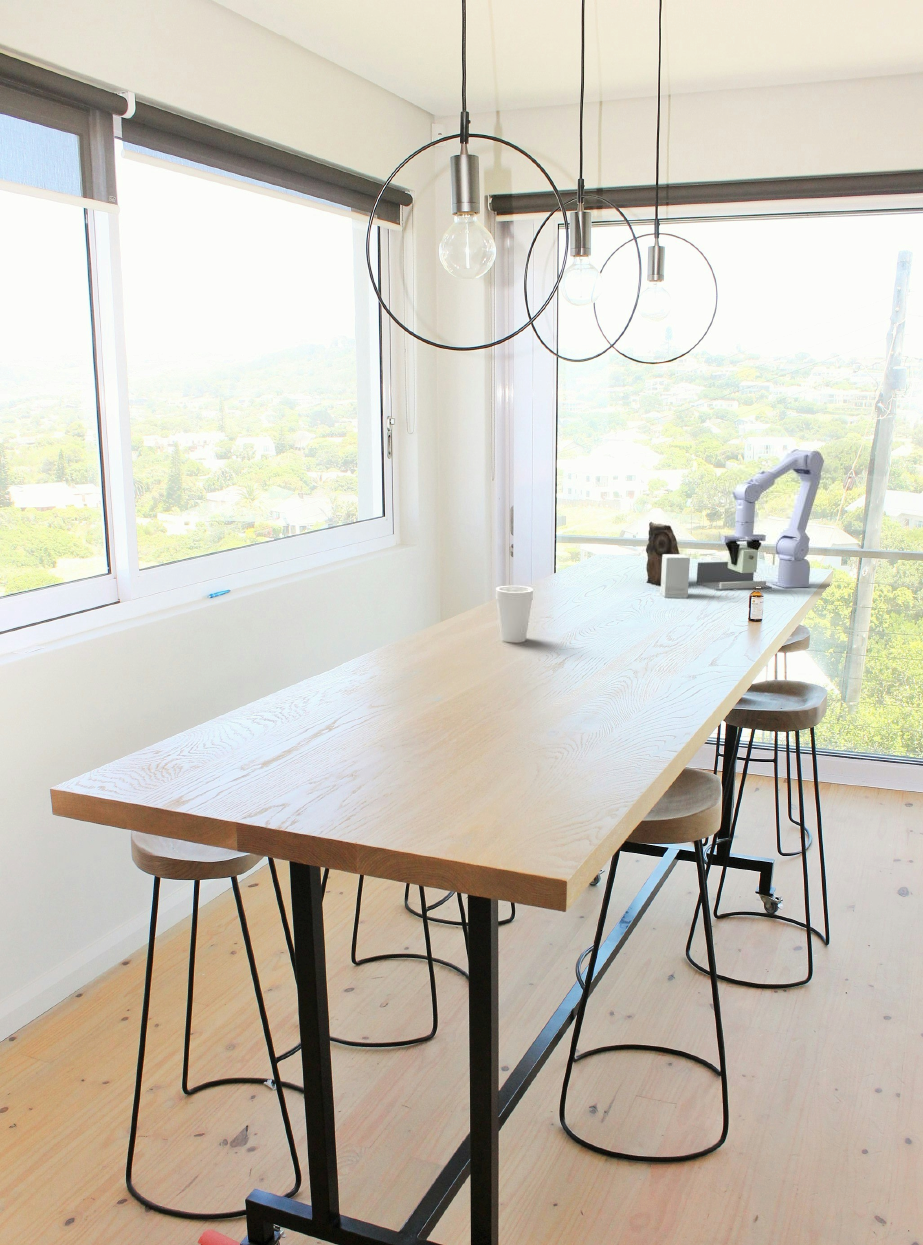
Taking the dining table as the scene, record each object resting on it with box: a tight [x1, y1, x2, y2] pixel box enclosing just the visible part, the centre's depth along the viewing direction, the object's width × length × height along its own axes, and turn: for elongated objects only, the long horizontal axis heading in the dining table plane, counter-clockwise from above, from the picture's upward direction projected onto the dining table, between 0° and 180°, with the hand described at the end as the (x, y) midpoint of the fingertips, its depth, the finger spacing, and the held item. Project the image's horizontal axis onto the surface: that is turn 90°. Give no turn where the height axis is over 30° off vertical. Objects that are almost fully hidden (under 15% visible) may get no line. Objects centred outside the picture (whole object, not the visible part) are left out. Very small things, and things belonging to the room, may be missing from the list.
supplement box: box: [659, 553, 691, 599], centre depth 315 cm, size 7×7×13 cm
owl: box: [645, 521, 680, 587], centre depth 335 cm, size 13×13×20 cm
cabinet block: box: [727, 545, 759, 574], centre depth 324 cm, size 5×10×7 cm, turn 15°
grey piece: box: [696, 561, 772, 591], centre depth 334 cm, size 20×13×7 cm, turn 104°
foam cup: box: [495, 585, 534, 643], centre depth 257 cm, size 10×9×13 cm
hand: (741, 564), depth 325 cm, fingers closed on cabinet block, 5 cm apart
